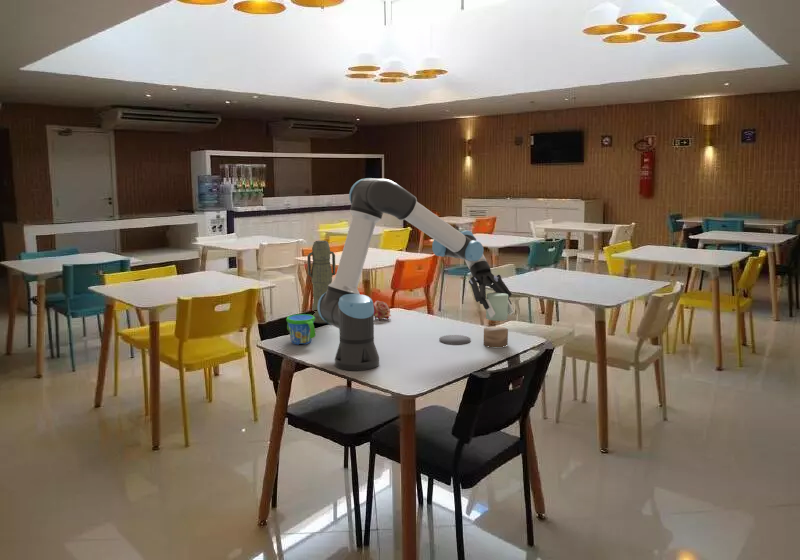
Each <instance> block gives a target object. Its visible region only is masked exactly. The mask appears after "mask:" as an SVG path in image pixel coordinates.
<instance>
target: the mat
mask: <svg viewBox="0 0 800 560" xmlns="http://www.w3.org/2000/svg"><path fill="white" fill-rule="evenodd" d="M439 342H440V343H442V344H447V345H453V346H454V345H458V346H459V345H465V344H469V343H470V342H471V338H470V337H469V336H466V335H461V334H460V335H459V334H447V335H442V336H439Z"/></svg>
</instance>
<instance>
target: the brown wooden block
mask: <svg viewBox="0 0 800 560" xmlns="http://www.w3.org/2000/svg"><path fill="white" fill-rule="evenodd" d="M508 337H509V329H508V328H507V327H504V326H497V325H495V326H486V327H484V328H483V346H484V345H485V346H484V347H486V346H489V347H488V348H490V347H503V346H506V345H508V344H509V343H508V341H509V338H508ZM506 347H507V346H506ZM503 348H504V347H503Z"/></svg>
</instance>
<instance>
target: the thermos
mask: <svg viewBox="0 0 800 560" xmlns="http://www.w3.org/2000/svg"><path fill="white" fill-rule="evenodd" d="M330 247H331V246H330V244H329V242H328V241H327V240H315V241H314V242H313V244H312V247H311V248H312V249H311V252H309V253H308V254H307V258H306V259H307V275H308V276H309V277H310V278H311V283H312V297H313V298H312V299H313V304H312V306H311V308H312V309H311V310H312V311H314V310H317V311H314V312H315V313H314V314H313V316H314V317H315V320H314V323H315V324H327V323H326V322H325V321H324V320H323V319H322V318H321V317H320V315H319V313H318V308H317V306H318V301H319V299H320V297H321V296H322V295H323V294H324V293H325V292H327V288H328V285H329V284H331V283H332V282H333V277H334V276H336V254H335V253H334V251H331V248H330ZM311 256H312V262H311ZM331 257H332V258H331ZM331 261H332V262H331ZM311 263H312V265H311ZM331 263H332V265H331ZM312 311H311V312H312Z"/></svg>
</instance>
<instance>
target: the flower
mask: <svg viewBox="0 0 800 560" xmlns="http://www.w3.org/2000/svg"><path fill="white" fill-rule="evenodd" d="M373 306H374V319H378V320H379V321H381V320H382V319H383V320H384V319H386V320H389V319H390V317H392V314H391V310H390V308H389V304H387V302H384V301H382V300H381V301H380V300H378V299H377V300H375V302H373Z"/></svg>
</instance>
